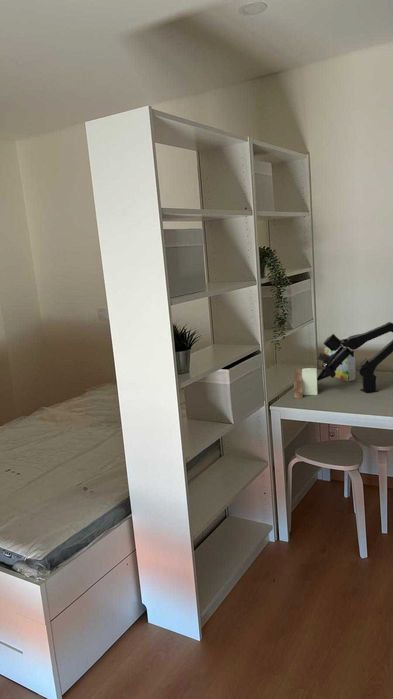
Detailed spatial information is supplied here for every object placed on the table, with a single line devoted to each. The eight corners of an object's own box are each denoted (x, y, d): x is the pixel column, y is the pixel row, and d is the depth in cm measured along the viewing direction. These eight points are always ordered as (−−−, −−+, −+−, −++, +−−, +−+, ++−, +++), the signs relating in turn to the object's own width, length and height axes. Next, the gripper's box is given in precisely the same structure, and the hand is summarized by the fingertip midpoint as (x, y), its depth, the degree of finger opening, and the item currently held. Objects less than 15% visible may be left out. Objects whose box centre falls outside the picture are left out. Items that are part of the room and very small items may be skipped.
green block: (317, 389, 273) (316, 368, 271) (317, 394, 263) (316, 373, 261) (303, 389, 274) (302, 368, 272) (302, 395, 265) (301, 373, 263)
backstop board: (303, 386, 279) (302, 369, 277) (302, 398, 260) (302, 380, 258) (295, 386, 280) (294, 370, 278) (294, 398, 261) (293, 380, 259)
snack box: (324, 373, 301) (323, 347, 298) (333, 372, 302) (332, 346, 299) (347, 382, 281) (346, 354, 278) (356, 380, 283) (356, 352, 280)
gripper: (325, 342, 271) (305, 364, 276) (327, 350, 253) (304, 374, 258) (342, 356, 271) (321, 379, 276) (345, 365, 253) (322, 389, 258)
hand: (317, 379), depth 267 cm, fingers closed, pressing on green block
